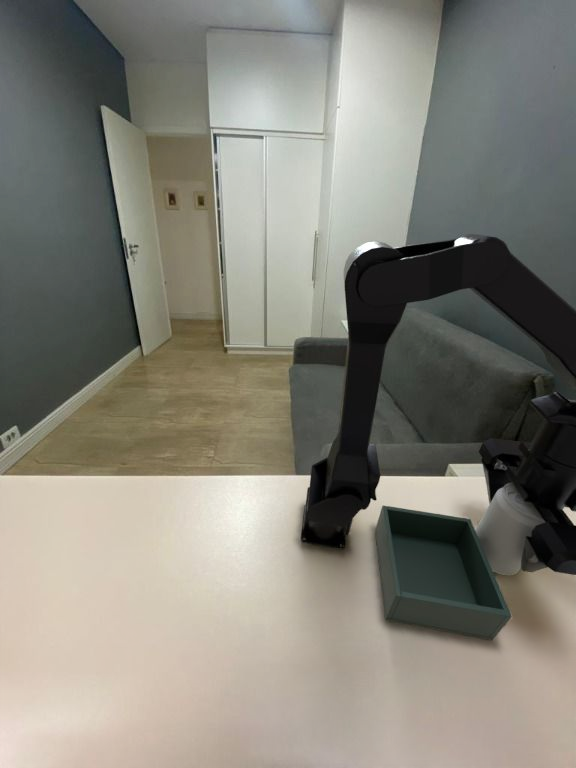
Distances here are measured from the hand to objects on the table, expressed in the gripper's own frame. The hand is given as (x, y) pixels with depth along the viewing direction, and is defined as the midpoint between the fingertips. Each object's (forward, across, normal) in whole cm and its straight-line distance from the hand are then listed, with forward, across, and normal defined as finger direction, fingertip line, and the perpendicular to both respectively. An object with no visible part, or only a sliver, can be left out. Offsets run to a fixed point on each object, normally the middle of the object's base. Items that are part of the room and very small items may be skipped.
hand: (508, 537), depth 43 cm
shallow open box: (+4, -5, +11) cm, 13 cm away
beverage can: (+4, 0, +1) cm, 5 cm away
